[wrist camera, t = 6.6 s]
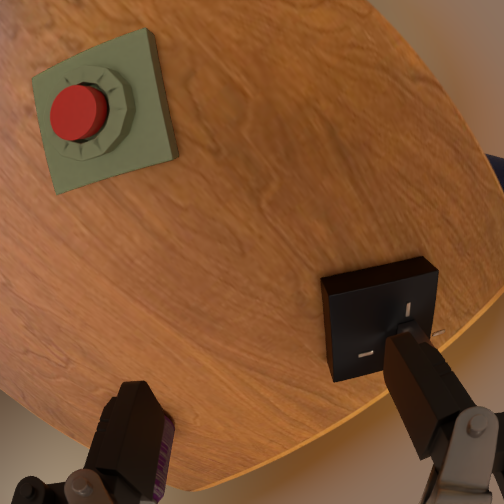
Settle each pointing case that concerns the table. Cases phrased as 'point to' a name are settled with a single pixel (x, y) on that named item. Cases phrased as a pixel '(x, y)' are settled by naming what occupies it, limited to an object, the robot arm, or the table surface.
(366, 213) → the table surface
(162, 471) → the beverage can
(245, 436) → the table surface
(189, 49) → the table surface
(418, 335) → the rotary knob
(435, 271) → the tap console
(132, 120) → the switch
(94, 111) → the button
